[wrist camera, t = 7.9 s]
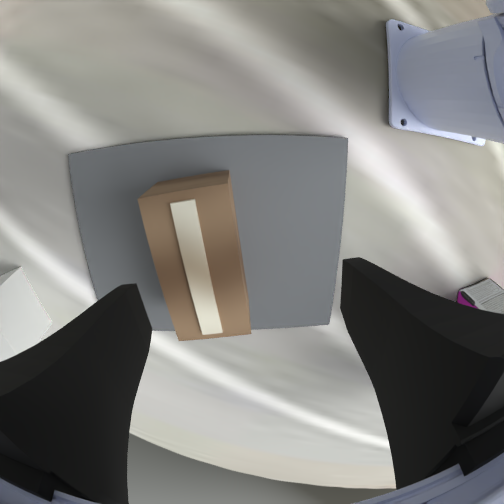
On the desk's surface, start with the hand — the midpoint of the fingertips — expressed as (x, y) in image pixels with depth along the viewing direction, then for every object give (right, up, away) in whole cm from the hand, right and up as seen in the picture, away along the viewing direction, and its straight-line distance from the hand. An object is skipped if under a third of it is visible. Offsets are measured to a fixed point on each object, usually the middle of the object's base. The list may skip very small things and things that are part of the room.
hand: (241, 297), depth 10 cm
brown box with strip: (-3, +2, +9) cm, 10 cm away
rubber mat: (-3, +2, +10) cm, 10 cm away
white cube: (-22, -3, +11) cm, 25 cm away
